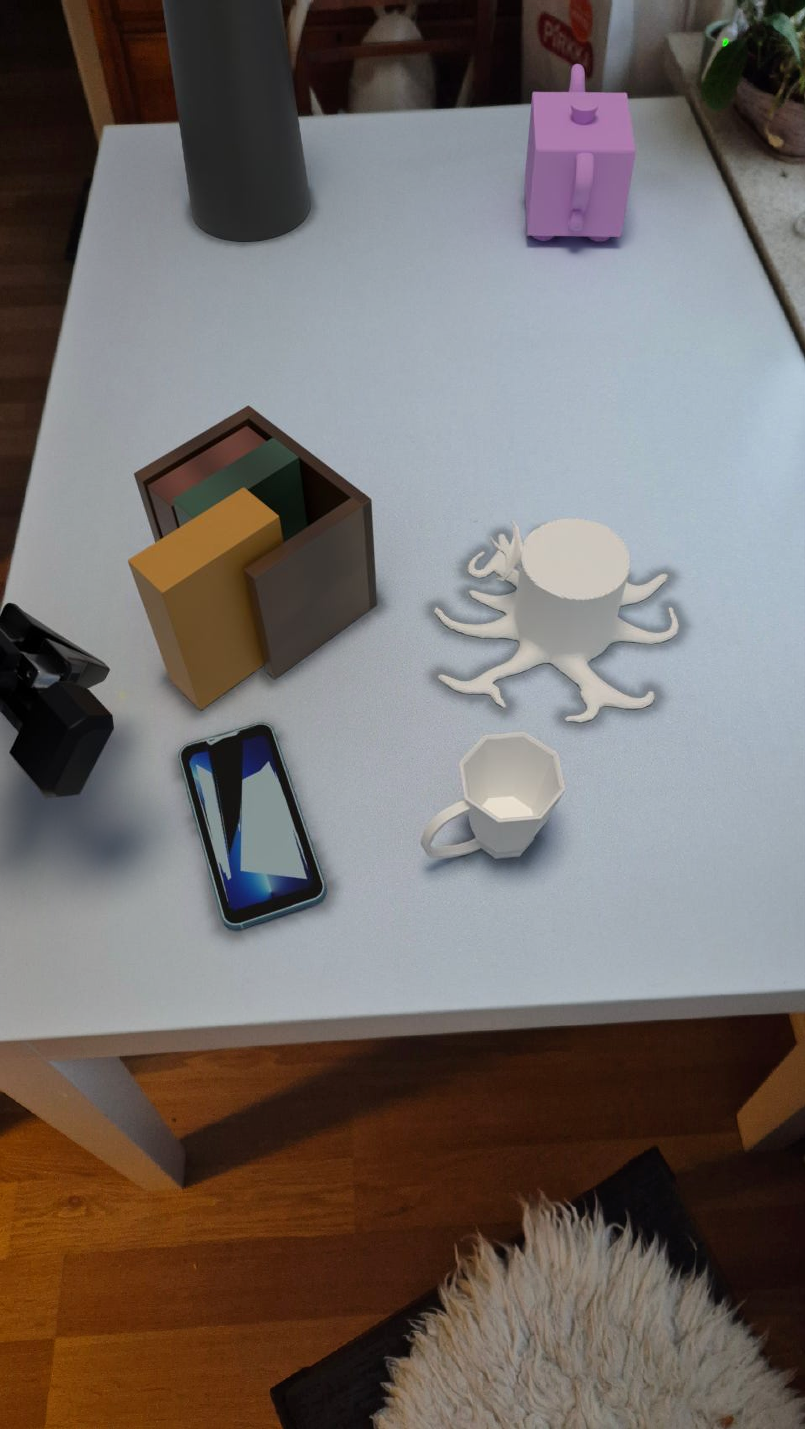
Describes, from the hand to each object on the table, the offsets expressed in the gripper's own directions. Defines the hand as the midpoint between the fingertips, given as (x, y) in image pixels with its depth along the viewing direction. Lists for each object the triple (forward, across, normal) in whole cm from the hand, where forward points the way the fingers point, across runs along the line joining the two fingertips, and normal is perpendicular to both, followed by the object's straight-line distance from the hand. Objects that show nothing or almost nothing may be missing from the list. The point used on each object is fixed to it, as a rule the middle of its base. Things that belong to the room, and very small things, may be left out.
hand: (104, 671), depth 70 cm
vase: (+42, -50, +30) cm, 72 cm away
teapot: (+60, -24, +48) cm, 81 cm away
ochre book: (+13, 0, +1) cm, 13 cm away
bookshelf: (+17, -4, +6) cm, 19 cm away
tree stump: (+28, +15, +16) cm, 36 cm away
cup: (+15, +25, +3) cm, 29 cm away
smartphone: (+7, +12, -4) cm, 15 cm away
